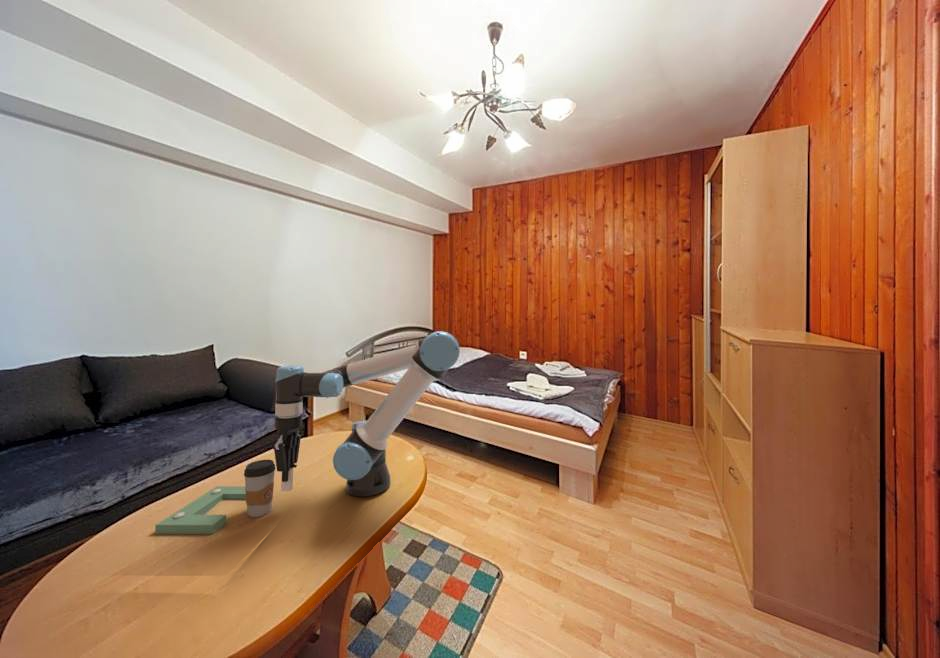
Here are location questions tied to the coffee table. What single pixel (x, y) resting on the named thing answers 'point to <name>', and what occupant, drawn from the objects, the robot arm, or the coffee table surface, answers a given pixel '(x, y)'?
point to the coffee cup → (259, 487)
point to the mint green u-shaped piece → (200, 513)
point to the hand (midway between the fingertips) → (287, 489)
